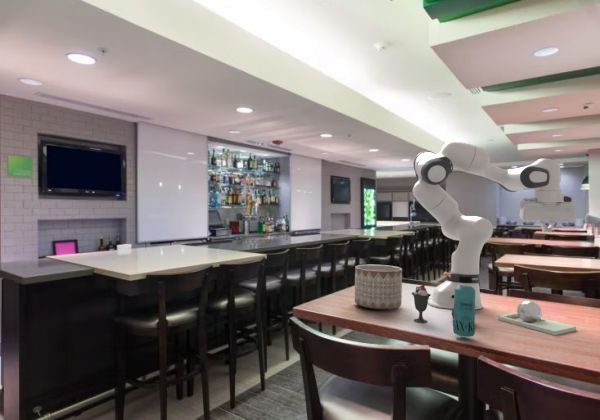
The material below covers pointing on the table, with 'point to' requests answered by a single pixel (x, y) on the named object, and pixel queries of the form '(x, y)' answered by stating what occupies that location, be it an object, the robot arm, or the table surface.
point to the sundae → (421, 301)
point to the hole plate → (540, 325)
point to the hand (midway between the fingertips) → (546, 232)
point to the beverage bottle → (464, 308)
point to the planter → (378, 286)
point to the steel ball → (529, 311)
